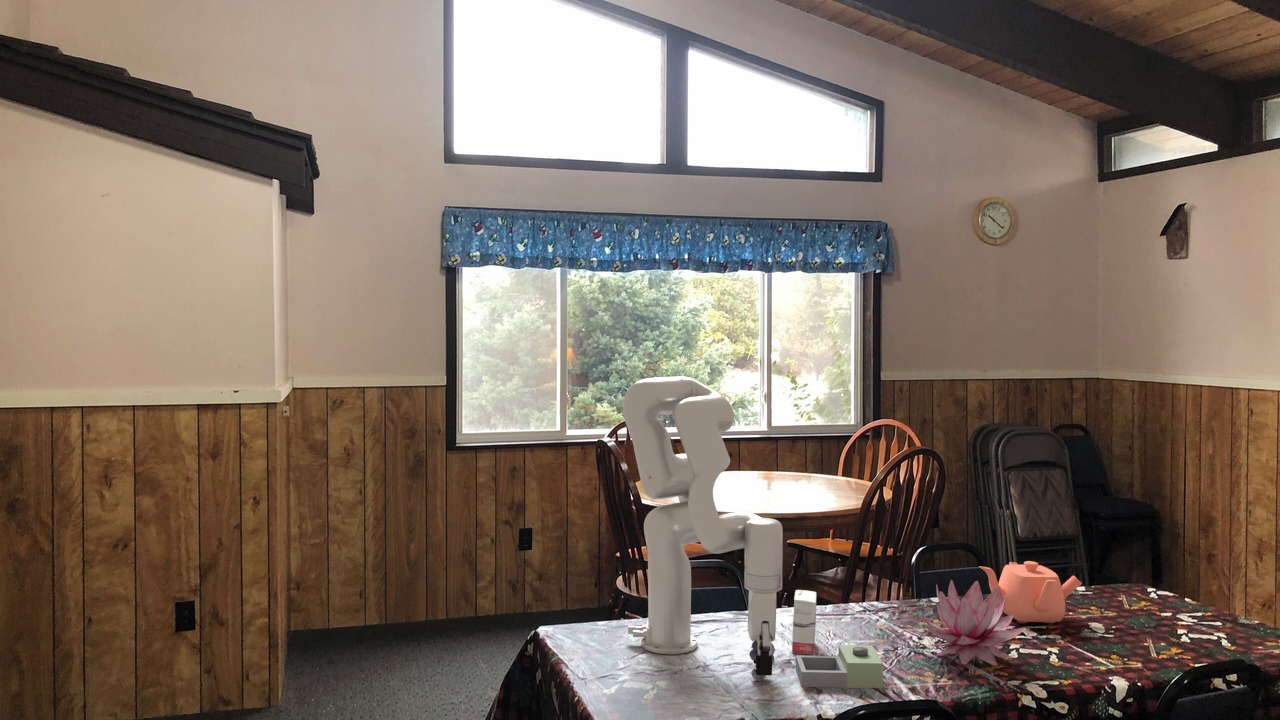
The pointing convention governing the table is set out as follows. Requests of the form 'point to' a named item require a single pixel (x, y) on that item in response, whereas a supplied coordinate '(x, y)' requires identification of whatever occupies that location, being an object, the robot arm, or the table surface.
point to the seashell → (753, 657)
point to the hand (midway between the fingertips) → (762, 668)
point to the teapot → (1032, 592)
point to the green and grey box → (842, 669)
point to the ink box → (804, 622)
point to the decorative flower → (973, 624)
